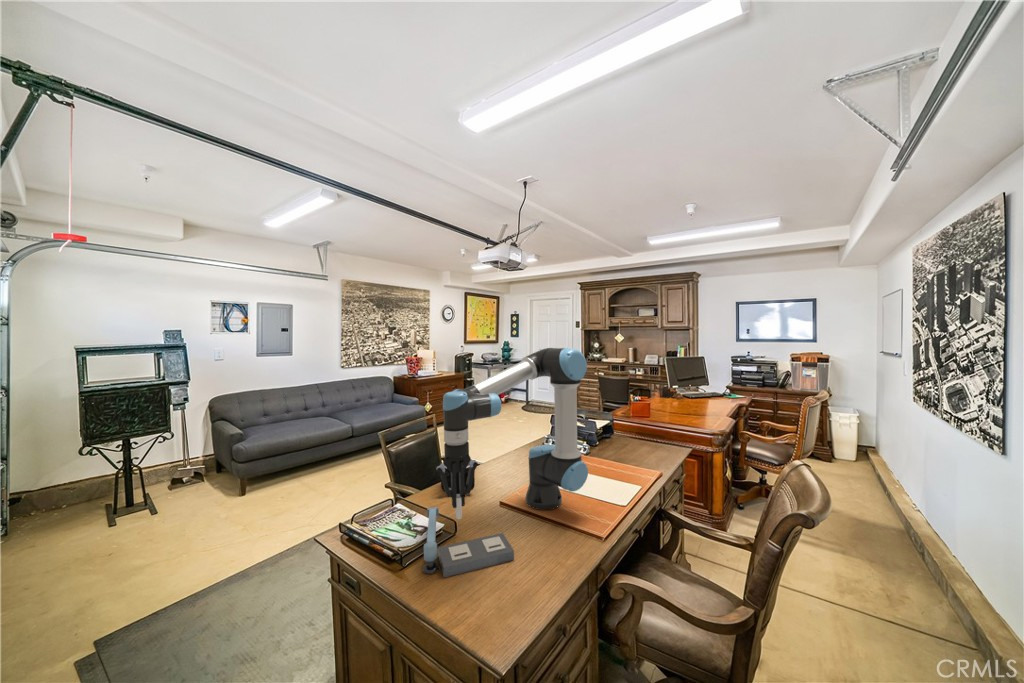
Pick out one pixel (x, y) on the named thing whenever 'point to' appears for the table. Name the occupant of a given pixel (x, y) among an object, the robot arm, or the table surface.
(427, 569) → the black short cylinder
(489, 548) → the block
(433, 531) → the hole punch handle
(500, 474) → the table surface
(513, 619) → the table surface
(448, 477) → the black pot
